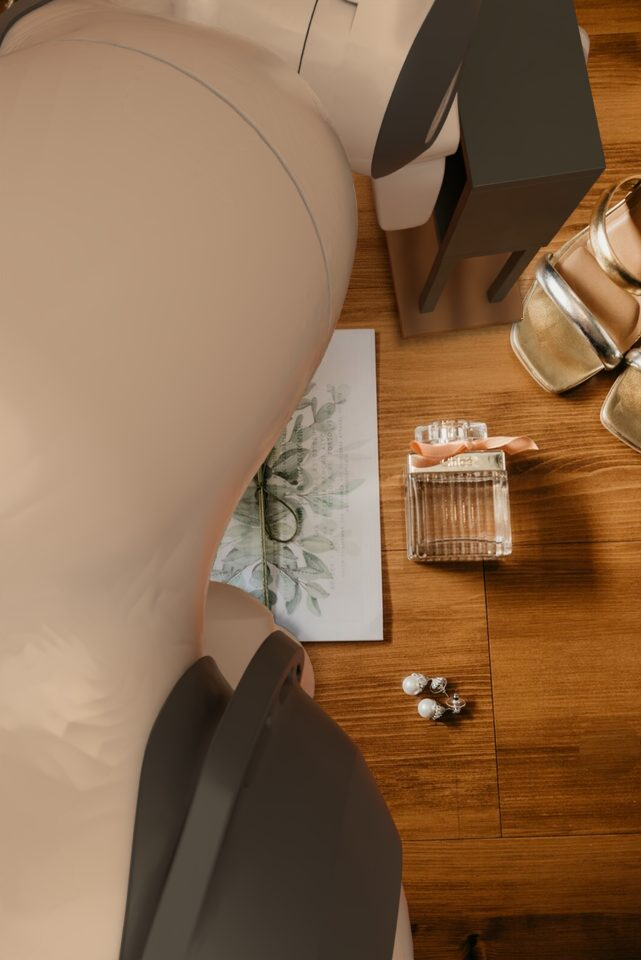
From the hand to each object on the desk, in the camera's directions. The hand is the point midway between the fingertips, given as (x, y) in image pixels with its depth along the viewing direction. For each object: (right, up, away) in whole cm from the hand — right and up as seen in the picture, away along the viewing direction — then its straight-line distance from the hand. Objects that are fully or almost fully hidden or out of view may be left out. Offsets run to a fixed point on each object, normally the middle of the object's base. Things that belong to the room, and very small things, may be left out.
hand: (378, 141), depth 60 cm
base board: (+10, -1, +24) cm, 26 cm away
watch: (+20, +17, +26) cm, 37 cm away
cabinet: (+10, -1, +22) cm, 24 cm away
